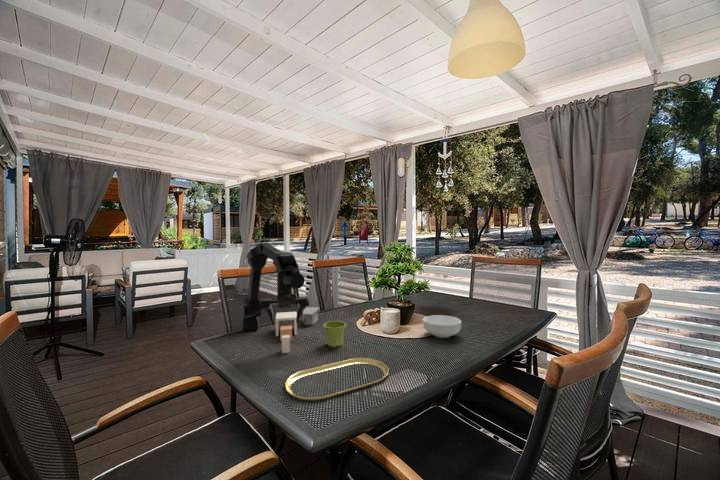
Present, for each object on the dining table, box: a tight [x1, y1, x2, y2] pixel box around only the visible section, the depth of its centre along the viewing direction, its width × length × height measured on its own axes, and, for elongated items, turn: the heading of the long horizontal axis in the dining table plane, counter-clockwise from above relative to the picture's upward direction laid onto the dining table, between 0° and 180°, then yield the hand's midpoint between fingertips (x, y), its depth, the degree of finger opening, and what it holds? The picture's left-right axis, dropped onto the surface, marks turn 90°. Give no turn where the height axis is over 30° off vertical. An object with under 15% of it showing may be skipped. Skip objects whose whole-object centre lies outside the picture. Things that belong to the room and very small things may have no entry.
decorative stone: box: [301, 306, 320, 327], centre depth 164 cm, size 15×7×10 cm
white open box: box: [275, 311, 298, 337], centre depth 149 cm, size 9×10×8 cm
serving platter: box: [284, 357, 390, 401], centre depth 103 cm, size 19×35×2 cm, turn 120°
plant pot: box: [323, 320, 347, 348], centre depth 132 cm, size 9×9×9 cm
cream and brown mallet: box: [279, 325, 293, 354], centre depth 133 cm, size 5×18×6 cm, turn 12°
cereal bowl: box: [422, 314, 462, 339], centre depth 144 cm, size 17×17×7 cm
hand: (285, 323), depth 126 cm, fingers open, 9 cm apart
